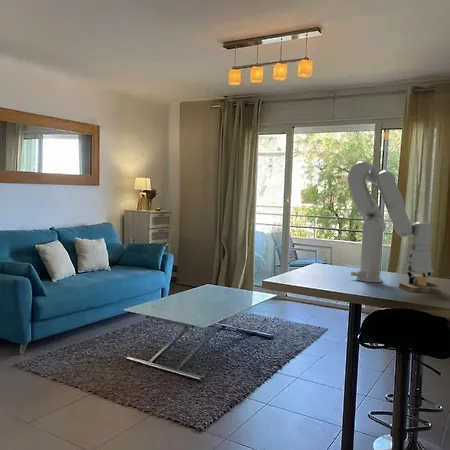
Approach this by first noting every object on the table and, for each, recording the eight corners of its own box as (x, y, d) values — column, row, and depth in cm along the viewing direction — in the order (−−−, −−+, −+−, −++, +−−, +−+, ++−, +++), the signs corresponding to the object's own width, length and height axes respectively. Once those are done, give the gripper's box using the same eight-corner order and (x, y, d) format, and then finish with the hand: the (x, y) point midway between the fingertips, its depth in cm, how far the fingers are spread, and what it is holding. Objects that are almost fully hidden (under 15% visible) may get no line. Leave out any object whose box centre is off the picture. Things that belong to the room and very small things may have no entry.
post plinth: (411, 292, 202) (412, 280, 202) (399, 287, 212) (399, 276, 211) (431, 292, 204) (432, 281, 203) (418, 287, 213) (419, 277, 213)
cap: (415, 287, 214) (416, 276, 214) (408, 285, 220) (409, 274, 220) (426, 287, 215) (427, 277, 215) (419, 285, 221) (420, 275, 221)
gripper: (408, 248, 211) (405, 286, 212) (441, 249, 214) (438, 287, 215) (399, 246, 219) (396, 283, 220) (431, 247, 222) (428, 284, 223)
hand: (417, 285), depth 218 cm, fingers closed on cap, 5 cm apart
